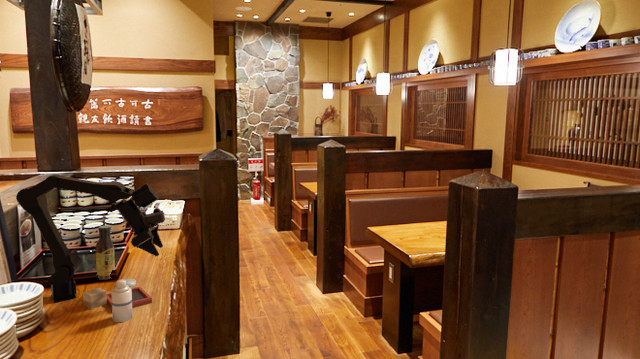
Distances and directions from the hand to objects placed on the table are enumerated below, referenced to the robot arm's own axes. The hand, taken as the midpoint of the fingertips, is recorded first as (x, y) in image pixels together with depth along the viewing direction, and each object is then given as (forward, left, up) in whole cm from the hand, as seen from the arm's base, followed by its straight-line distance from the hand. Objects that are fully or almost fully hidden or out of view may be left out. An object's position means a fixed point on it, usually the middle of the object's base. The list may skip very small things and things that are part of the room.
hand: (160, 251), depth 149 cm
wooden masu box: (-20, +3, -15) cm, 26 cm away
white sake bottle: (-16, -12, -15) cm, 25 cm away
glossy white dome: (-7, +13, -15) cm, 21 cm away
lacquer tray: (-11, -1, -15) cm, 19 cm away
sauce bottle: (-11, +25, -15) cm, 31 cm away
